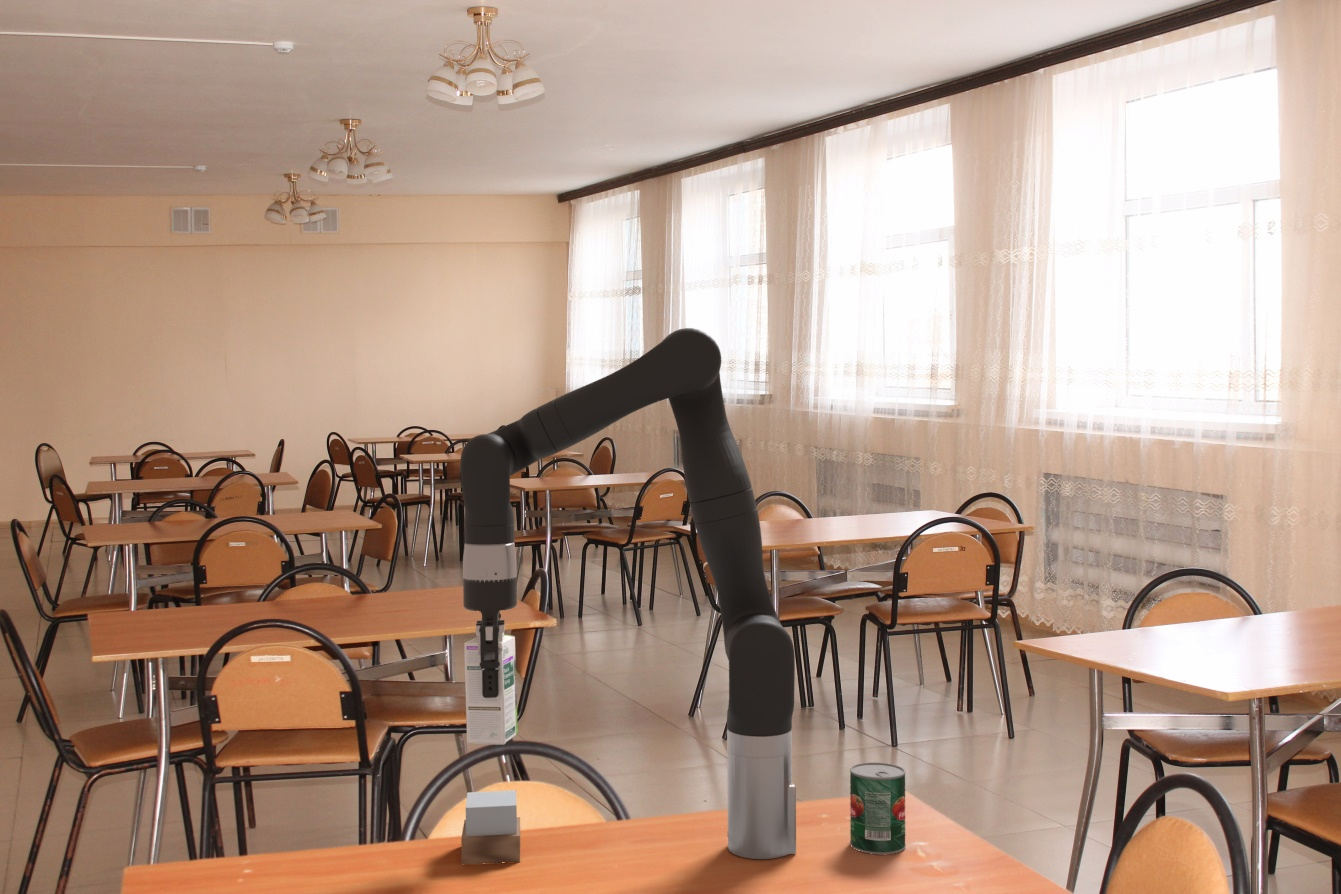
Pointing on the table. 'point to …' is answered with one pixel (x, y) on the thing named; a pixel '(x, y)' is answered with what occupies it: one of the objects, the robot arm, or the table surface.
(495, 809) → the tower top
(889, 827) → the canned tomato
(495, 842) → the tower base
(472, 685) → the syrup box
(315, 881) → the table surface
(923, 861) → the table surface
